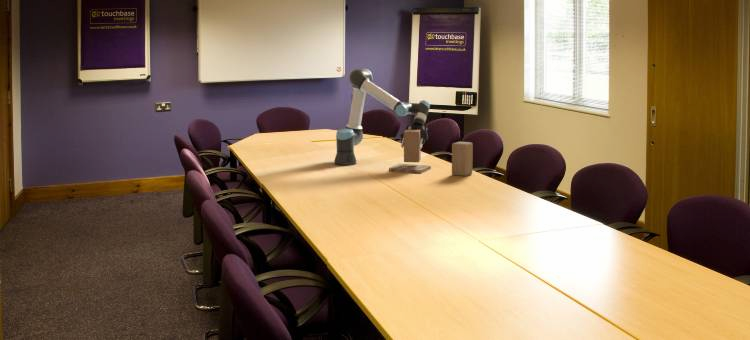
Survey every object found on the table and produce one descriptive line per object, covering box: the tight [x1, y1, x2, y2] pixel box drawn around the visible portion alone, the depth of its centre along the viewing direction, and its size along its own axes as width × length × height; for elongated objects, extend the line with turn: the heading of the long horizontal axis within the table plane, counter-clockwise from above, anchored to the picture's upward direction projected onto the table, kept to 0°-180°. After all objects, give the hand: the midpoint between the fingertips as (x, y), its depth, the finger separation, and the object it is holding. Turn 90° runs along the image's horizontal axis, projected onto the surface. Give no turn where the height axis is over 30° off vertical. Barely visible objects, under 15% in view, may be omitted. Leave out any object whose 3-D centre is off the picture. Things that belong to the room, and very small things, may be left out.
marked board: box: [388, 163, 432, 174], centre depth 455 cm, size 22×18×2 cm
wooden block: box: [403, 129, 422, 163], centre depth 456 cm, size 10×10×20 cm
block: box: [451, 141, 474, 177], centre depth 436 cm, size 10×10×20 cm
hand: (411, 147), depth 454 cm, fingers closed on wooden block, 12 cm apart
